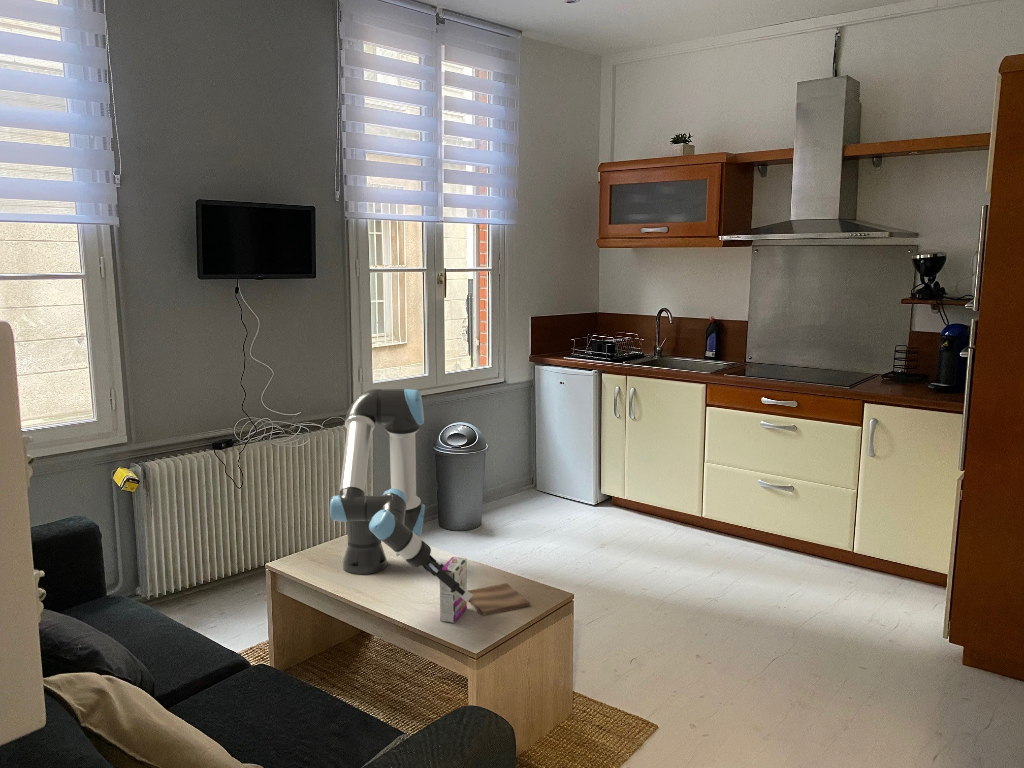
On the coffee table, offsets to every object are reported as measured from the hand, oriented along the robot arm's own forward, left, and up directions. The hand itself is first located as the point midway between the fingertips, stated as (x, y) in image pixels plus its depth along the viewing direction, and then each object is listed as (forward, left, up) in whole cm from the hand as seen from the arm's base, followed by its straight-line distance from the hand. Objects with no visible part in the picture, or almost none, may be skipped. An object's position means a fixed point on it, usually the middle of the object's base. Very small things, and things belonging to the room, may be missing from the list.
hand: (461, 590), depth 239 cm
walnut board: (-4, +13, -7) cm, 16 cm away
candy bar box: (0, -3, -7) cm, 8 cm away
